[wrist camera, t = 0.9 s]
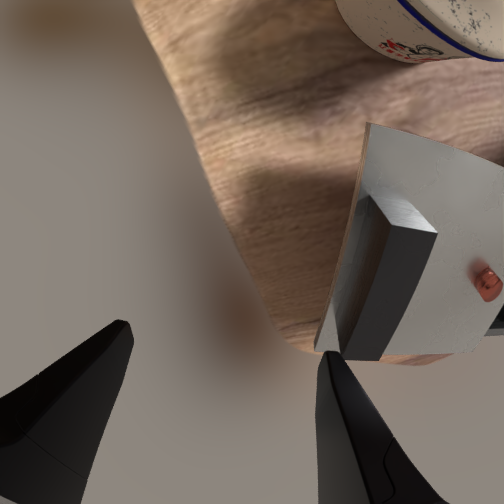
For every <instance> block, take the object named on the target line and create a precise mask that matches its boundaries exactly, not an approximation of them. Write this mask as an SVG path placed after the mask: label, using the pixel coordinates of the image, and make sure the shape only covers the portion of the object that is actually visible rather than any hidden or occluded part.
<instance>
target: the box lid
mask: <svg viewBox="0 0 504 504" xmlns="http://www.w3.org/2000/svg"><path fill="white" fill-rule="evenodd" d="M503 304H504V167H502V166H500V165H498V164H496V163H493V162H491V161H489V160H486V159H484V158H482V157H479V156H477V155H474V154H472V153H469V152H466V151H464V150H461V149H458V148H456V147H453V146H450V145H447V144H444V143H441V142H438V141H435V140H432V139H429V138H426V137H422V136H419V135H416V134H412V133H409V132H405V131H401V130H398V129H394V128H390V127H386V126H382V125H378V124H373V123H369V122H366V127H365V133H364V139H363V146H362V151H361V157H360V163H359V168H358V173H357V179H356V184H355V189H354V193H353V198H352V203H351V208H350V212H349V216H348V221H347V225H346V229H345V234H344V238H343V242H342V246H341V250H340V254H339V258H338V261H337V265H336V269H335V273H334V276H333V280H332V284H331V287H330V291H329V294H328V297H327V301H326V304H325V308H324V311H323V314H322V317H321V321H320V324H319V327H318V330H317V333H316V336H315V339H314V351H316V352H325V351H327V350H330V351H338V352H339V353H340V354H341V356H342V357H343V359H344V360H358V361H379V359H380V358H381V356H382V354H388V355H409V354H445V353H462V352H473V350H474V349H475V348H476V346H477V345H478V343H479V342H480V341H481V339H482V337H483V336H484V335H485V333H486V332H487V330H488V329H489V327H490V326H491V324H492V322H493V321H494V319H495V318H496V316H497V314H498V313H499V311H500V309H501V308H502V306H503Z"/></svg>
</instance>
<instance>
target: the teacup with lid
mask: <svg viewBox="0 0 504 504" xmlns="http://www.w3.org/2000/svg"><path fill="white" fill-rule="evenodd" d="M335 1H336V4H337V7H338V10H339V12H340V14H341V16H342V18H343V19H344V21H345V22H346V24H347V25H348V26H349V28H350V29H351V30H352V31H353V32H354V33H355V35H356V36H357V37H358V38H360V39H361V40H362V41H363V42H364V43H365V44H367V45H368V46H369V47H371V48H372V49H374V50H376V51H377V52H379V53H381V54H383V55H385V56H387V57H389V58H392V59H395V60H398V61H402V62H408V63H424V62H431V61H439V60H448V59H459V58H472V57H476V58H479V59H482V60H486V61H493V62H504V0H335Z"/></svg>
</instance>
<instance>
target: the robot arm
mask: <svg viewBox="0 0 504 504" xmlns="http://www.w3.org/2000/svg"><path fill="white" fill-rule="evenodd" d="M133 345H134V338H133V334H132V331H131V327H130V324H129V323H128V322H127V321H123V320H119V319H118V320H115V321H113V322H112V323H111V324H109V325H108V326H106V327H105V328H103V329H102V330H100V331H99V332H97V333H96V334H94V335H93V336H92V337H90V338H89V339H87V340H86V341H84V342H83V343H81V344H80V345H78V346H77V347H76V348H74V349H73V350H71V351H70V352H69V353H67V354H66V355H65V356H63V357H61V358H60V359H58V360H57V361H56V362H54V363H53V364H51V365H50V366H48V367H47V368H46V369H44V370H43V371H42V372H40V373H39V375H36V376H34V377H33V378H32V379H30V380H29V381H27V382H26V383H24V384H23V385H21V386H20V387H18V388H16V389H15V390H13V391H12V392H10V393H8V394H6V395H5V396H3V397H1V398H0V504H81V500H82V497H83V494H84V490H85V487H86V484H87V479H88V477H89V474H90V471H91V468H92V465H93V461H94V458H95V456H96V453H97V450H98V447H99V444H100V441H101V438H102V436H103V433H104V430H105V427H106V424H107V422H108V419H109V417H110V414H111V411H112V409H113V406H114V403H115V401H116V398H117V396H118V393H119V391H120V388H121V385H122V383H123V379H124V376H125V372H126V369H127V365H128V362H129V358H130V355H131V352H132V348H133ZM315 419H316V420H315V421H316V439H317V463H318V498H319V499H318V500H319V501H318V502H319V503H318V504H449V503H448V502H446V501H445V500H443V499H442V498H441V497H440V496H439V495H438V494H437V493H436V491H435V490H434V489H433V488H432V487H431V485H430V484H429V483H428V482H427V480H426V479H425V478H424V477H423V476H422V475H421V473H420V472H419V471H418V470H417V468H416V467H415V466H414V465H413V463H412V462H411V461H410V459H409V458H408V457H407V455H406V454H405V452H404V451H403V449H402V448H401V446H400V445H399V443H398V442H397V440H396V439H395V437H393V434H392V433H391V431H390V429H389V428H388V426H387V425H386V423H385V422H384V420H383V418H382V417H381V415H380V414H379V412H378V411H377V409H376V408H375V406H374V405H373V403H372V401H371V400H370V398H369V397H368V395H367V394H366V392H365V391H364V389H363V388H362V386H361V385H360V383H359V382H358V380H357V379H356V377H355V376H354V374H353V373H352V371H351V369H350V368H349V366H348V365H347V363H346V362H345V360H344V359H343V357H342V356H341V354H340V353H339V352H338V351H330V350H327V351H325V352H324V354H323V356H322V359H321V362H320V364H319V367H318V374H317V393H316V411H315Z"/></svg>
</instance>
